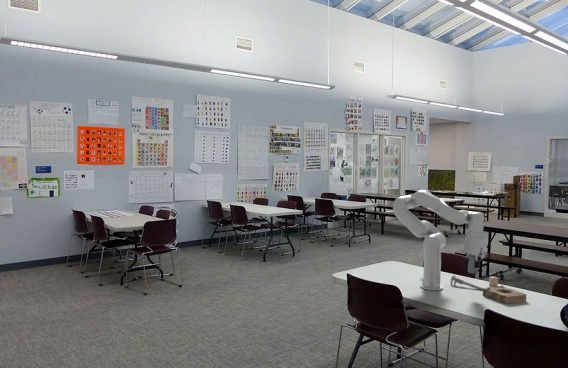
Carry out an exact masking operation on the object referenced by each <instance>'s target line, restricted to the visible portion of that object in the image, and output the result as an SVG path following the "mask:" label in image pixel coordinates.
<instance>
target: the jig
mask: <svg viewBox="0 0 568 368" xmlns="http://www.w3.org/2000/svg"><path fill="white" fill-rule="evenodd" d="M482 288H483V291H482V296H484V297H487V298H489V299H492V300H494V301H497V302H500V303H503V304H504V305H511V304H512V305H513V304H517V303H524V302H527V294H526V293H524V292H521V291H518V290H516V289H512V288H509V287H506V286H504V285H498V286H497V287H489V286H487V287H482Z"/></svg>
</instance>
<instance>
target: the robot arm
mask: <svg viewBox="0 0 568 368" xmlns="http://www.w3.org/2000/svg"><path fill="white" fill-rule="evenodd" d="M420 206H421V207H423V208H425V209H427V210H430V211H432V212H434V213H435V214H436V215H438V216H440V217H441V218H442V219H444V220H446V221H448V222H451V223H453V224H455V225H464V224H468V230H467V235H466V236H465V240H464V241H465V242H464V247H463V248H464V249H463V253H464V254H465V258H466V266H468V262H469V254H471V255H474V256H475V258H476V261H475V266H474V268H478V269H480V268H481V267H480V265H481V262H482V260H483V259H485V258H486V255H485V253H484V252H485V251H484V250H485V244H484V243H485V242H484V238H483V236H484V225H485V224H484V223H485V214H484V212H481V211H470V210H465V209H461V210H458V209H455V208H453V207H451V206H449V205H447V204H446V203H445V201H444V200H443V199H442V198H440V197H438V196H435V195H434V194H432V192H431V191H430V190H428V189H420V190H417V191H415V193H412V194H408V195H401V196H399V197H397V198H395V200H394V201H393V204H392V210H393V213H394V216H395V218H397V220H398V221H399V222H400V223H402V224H403V225H404V227H405V228H407V229H408V230H409V231H410V232H411V233H412V234H413V235H414V236H415V237H416V238H423V237H424V239H423V243H422V244H423V246H422V247H423V273H422V274H423V276H422V277H421V278H419V281H421V282H422V283H421V284H420V286H419V287H420V288H422V289H424V290H427V291H433V292H434V291H441V290H443V289H444V287H443V285H441V269H442V268H441V267H442V253H441V249H442V248H444V247H445V246H446V244H447V238H446V236H445V235H444V234H443V233H442V232H441V230H439V229H438V228H437V227H436V226H435V225H434V224H432V222H430V221H428V220H424V219H423V220H420V219H419V218H418V217H417V216H416V215H415V214H414V213H412V212H411V211H410V209H414V208H417V207H420ZM478 257H479V258H478Z"/></svg>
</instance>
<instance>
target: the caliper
mask: <svg viewBox="0 0 568 368" xmlns="http://www.w3.org/2000/svg"><path fill="white" fill-rule="evenodd" d="M456 276H457V275H454V274H453V275H452V276H451V278H450V285H453V286H455V285H456V284H459V285H465V286H468V287H471V288H473V289H477V290H478V291H482V292H483V288H484V287H481V286H479V285H476V284H472V283H470V282H467V281H464V279H462V278H458V277H456Z"/></svg>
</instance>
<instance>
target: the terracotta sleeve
mask: <svg viewBox="0 0 568 368" xmlns="http://www.w3.org/2000/svg"><path fill="white" fill-rule="evenodd" d="M498 283H499V278H498V277H497V276H489V283H488V285H489V286H488V287H497V286H499V285H498Z"/></svg>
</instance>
